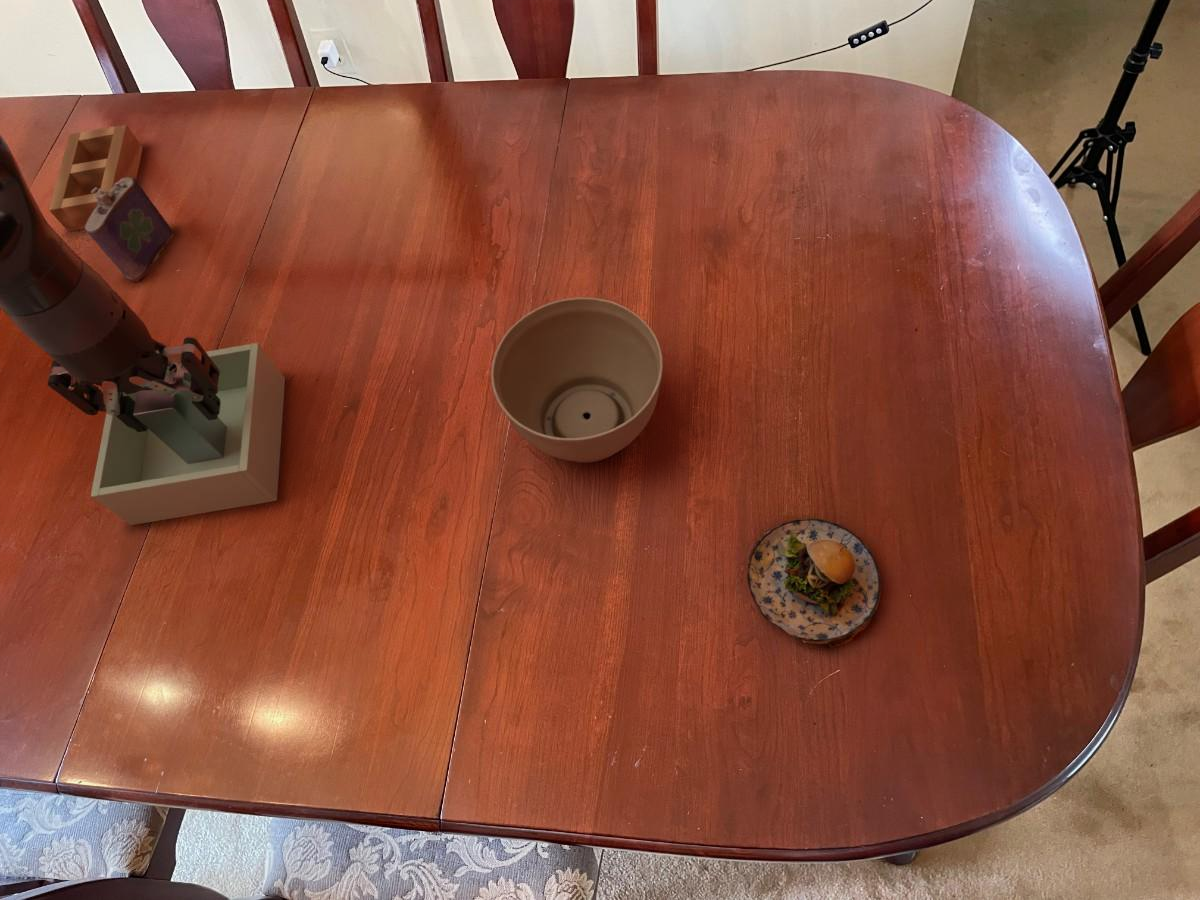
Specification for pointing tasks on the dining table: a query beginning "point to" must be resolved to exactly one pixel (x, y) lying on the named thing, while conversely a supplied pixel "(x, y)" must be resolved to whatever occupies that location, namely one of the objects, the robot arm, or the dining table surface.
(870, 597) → the burger
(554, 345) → the planter bowl
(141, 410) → the grey rectangular block
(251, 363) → the tub
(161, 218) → the flask
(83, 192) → the rack
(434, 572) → the dining table surface
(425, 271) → the dining table surface
